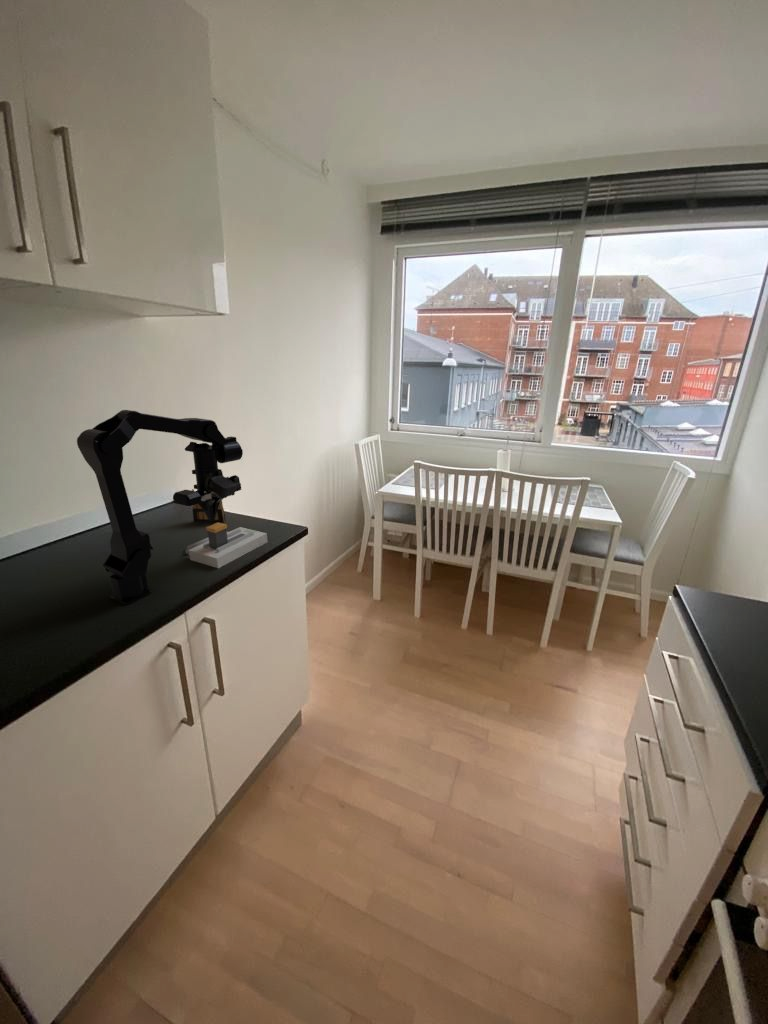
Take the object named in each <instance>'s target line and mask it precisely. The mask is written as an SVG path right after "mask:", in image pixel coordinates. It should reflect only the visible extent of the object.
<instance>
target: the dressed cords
mask: <svg viewBox="0 0 768 1024" xmlns="http://www.w3.org/2000/svg"><path fill="white" fill-rule="evenodd" d="M228 532H230V531H227V533H228ZM208 541H209V538H208V537H205V538H204V539H201V540H199V541H196V542H194V543H192V544H189V545H187V546H186V550H184V551H185V554H186V555H189V550H190V549H193V548H195V547H197V546H199V545H201V544H204V543H206V542H208Z"/></svg>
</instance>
